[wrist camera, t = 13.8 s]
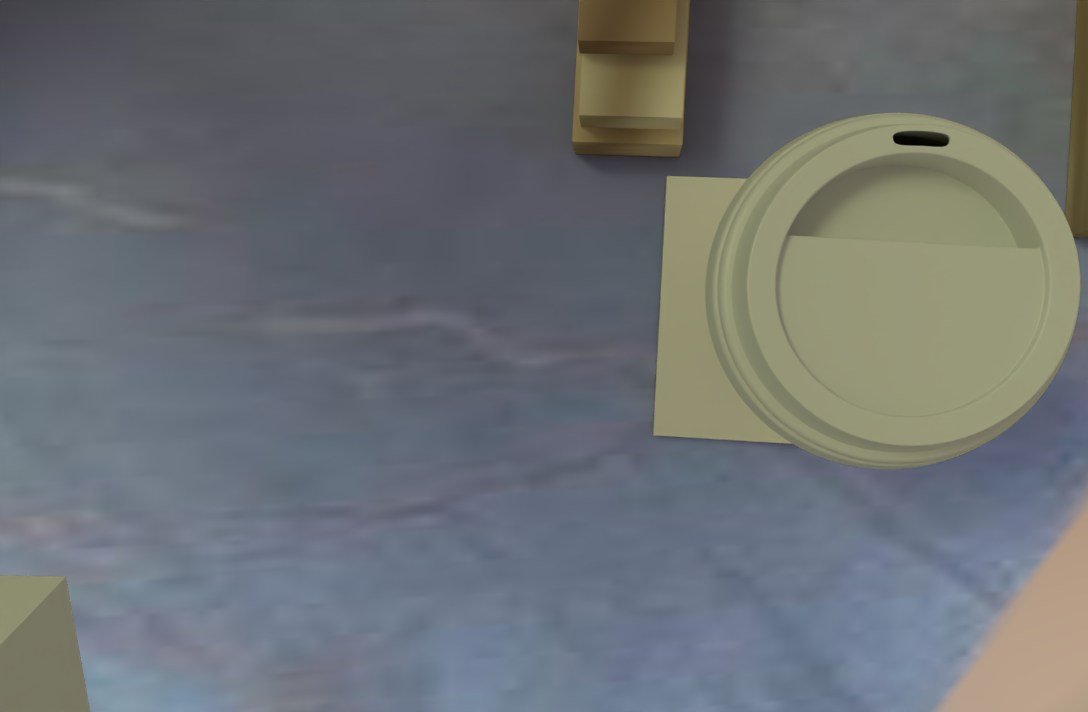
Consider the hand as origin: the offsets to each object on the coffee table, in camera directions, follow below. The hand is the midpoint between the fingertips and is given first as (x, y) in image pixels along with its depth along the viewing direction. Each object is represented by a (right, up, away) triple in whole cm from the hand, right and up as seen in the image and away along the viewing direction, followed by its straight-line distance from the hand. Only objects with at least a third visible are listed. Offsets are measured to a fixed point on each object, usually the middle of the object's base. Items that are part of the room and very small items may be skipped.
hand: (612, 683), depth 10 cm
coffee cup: (+10, +6, +26) cm, 28 cm away
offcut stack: (+3, +21, +27) cm, 34 cm away
